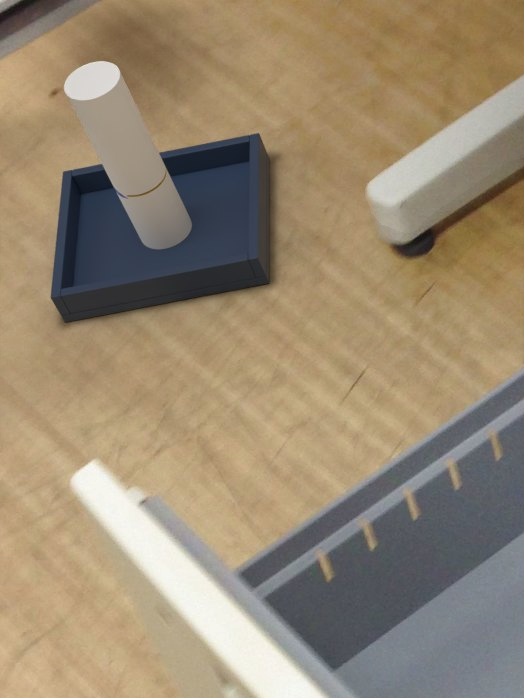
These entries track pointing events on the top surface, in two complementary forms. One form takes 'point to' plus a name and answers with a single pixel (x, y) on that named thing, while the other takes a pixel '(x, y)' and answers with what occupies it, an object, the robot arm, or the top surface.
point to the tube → (128, 154)
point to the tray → (175, 262)
